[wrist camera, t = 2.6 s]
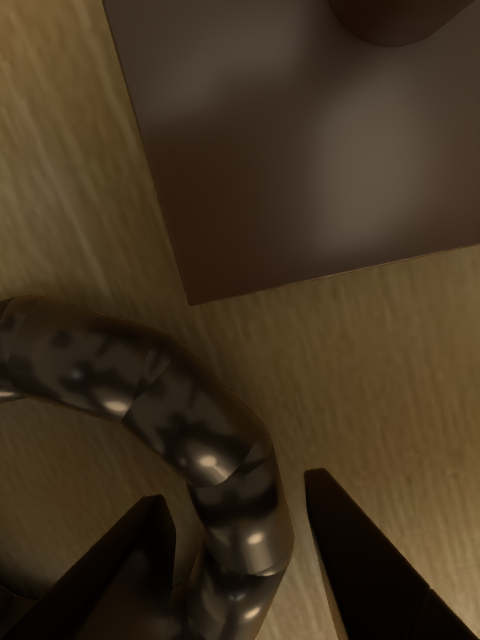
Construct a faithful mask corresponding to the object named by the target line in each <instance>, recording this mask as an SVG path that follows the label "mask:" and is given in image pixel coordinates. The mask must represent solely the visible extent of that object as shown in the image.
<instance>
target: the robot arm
mask: <svg viewBox="0 0 480 640" xmlns="http://www.w3.org/2000/svg"><path fill="white" fill-rule="evenodd" d="M304 484H305V495H306V507H307V514H308V519H309V523H310V528H311V532H312V536H313V540H314V545H315V549H316V553H317V557H318V562H319V566H320V570H321V574H322V579H323V583H324V587H325V591H326V596H327V600H328V604H329V608H330V612H331V615H332V619H333V622H334V626H335V629H336V633H337V637H338V640H480V639H479V638H478V637H477V636H476V635H475V634H474V633H473V632H472V631H471V630H470V629H469V628H468V627H467V626H466V625H465V624H464V623H463V621H462V620H461V619H460V618H459V617H458V616H457V615H456V614H455V613H454V612H453V611H452V610H451V609H450V608H449V607H448V605H447V604H446V603H445V602H444V601H443V600H442V599H441V598H440V596H439V595H438V594H437V593H436V592H435V591H434V590H433V589H430V586H429V584H428V583H427V582H426V581H425V580H424V579H423V578H422V577H421V575H420V574H419V573H418V572H417V571H416V570H415V569H414V568H413V566H412V565H411V564H410V563H409V562H408V561H407V560H406V559H405V557H404V556H403V555H402V554H401V553H400V552H399V551H398V549H397V548H396V547H395V546H394V545H393V544H392V543H391V542H390V540H389V539H388V538H387V537H386V536H385V535H384V534H383V533H382V531H381V530H380V529H379V528H378V527H377V526H376V525H375V524H374V522H373V521H372V520H371V519H370V518H369V517H368V516H367V515H366V513H365V512H364V511H363V510H362V509H361V508H360V507H359V506H358V504H357V503H356V502H355V501H354V500H353V499H352V498H351V497H350V495H349V494H348V493H347V492H346V491H345V490H344V489H343V488H342V486H341V485H340V484H339V483H338V482H337V481H336V480H335V479H334V477H333V476H332V475H331V474H330V473H329V472H328V471H327V470H326V469H325V468H317V469H310V470H306V471H305V472H304ZM175 547H176V529H175V525H174V522H173V519H172V516H171V513H170V511H169V508H168V505H167V502H166V499H165V498H164V496H163V495H161V494H156V495H150V496H144V497H142V498H141V499H140V500H139V501H138V502H137V503H136V504H135V505H134V506H133V507H132V508H131V509H130V510H129V511H128V512H127V513H125V514H124V515H123V516H122V517H121V518H120V519H119V520H118V521H117V522H116V523H115V524H114V525H113V526H112V527H111V528H110V529H109V530H108V531H107V532H106V533H105V534H104V535H103V536H102V537H101V538H100V539H99V540H98V541H97V542H96V543H95V544H94V545H93V546H92V547H91V548H90V549H89V550H88V551H87V552H86V553H85V554H84V555H83V556H82V557H81V558H80V559H79V560H78V561H77V562H76V563H75V564H74V565H73V566H72V567H71V568H70V569H69V570H68V571H67V572H66V573H65V574H64V575H63V576H62V577H61V578H60V579H59V580H58V581H57V582H56V583H55V584H54V585H53V586H52V587H51V588H50V589H49V590H48V591H47V592H46V593H45V594H44V595H43V596H42V597H41V598H40V599H39V600H38V601H37V602H36V603H35V604H34V605H33V606H32V607H31V608H30V609H29V610H28V611H27V612H26V613H25V614H24V615H23V616H22V617H21V618H20V619H19V620H18V621H17V622H16V623H15V624H14V625H13V626H12V627H11V628H10V629H9V630H8V631H7V632H6V633H5V634H4V635H3V636H2V637H1V638H0V640H165V639H166V634H167V628H168V622H169V615H170V606H171V594H172V582H173V570H174V558H175Z"/></svg>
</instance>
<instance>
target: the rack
mask: <svg viewBox="0 0 480 640" xmlns="http://www.w3.org/2000/svg"><path fill="white" fill-rule="evenodd" d="M102 3H103V7H104V10H105V14H106V17H107V21H108V24H109V28H110V31H111V35H112V38H113V42H114V45H115V49H116V52H117V56H118V59H119V63H120V66H121V70H122V73H123V77H124V80H125V84H126V87H127V91H128V94H129V98H130V101H131V105H132V108H133V112H134V115H135V119H136V122H137V126H138V129H139V133H140V136H141V140H142V143H143V147H144V150H145V154H146V157H147V161H148V164H149V168H150V171H151V175H152V178H153V182H154V185H155V189H156V192H157V196H158V199H159V203H160V206H161V210H162V213H163V217H164V220H165V224H166V227H167V231H168V234H169V238H170V241H171V245H172V248H173V252H174V255H175V259H176V262H177V266H178V269H179V273H180V276H181V280H182V283H183V287H184V290H185V294H186V297H187V301H188V304H189V305H190V306H196V305H201V304H206V303H210V302H215V301H220V300H224V299H229V298H233V297H238V296H243V295H247V294H252V293H257V292H261V291H266V290H271V289H275V288H280V287H284V286H289V285H294V284H298V283H303V282H308V281H312V280H317V279H322V278H326V277H331V276H335V275H340V274H345V273H349V272H354V271H359V270H363V269H368V268H373V267H377V266H382V265H386V264H391V263H396V262H400V261H405V260H410V259H414V258H419V257H424V256H428V255H433V254H438V253H442V252H447V251H451V250H456V249H461V248H465V247H470V246H475V245H479V244H480V0H102Z"/></svg>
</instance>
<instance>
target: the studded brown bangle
mask: <svg viewBox="0 0 480 640" xmlns="http://www.w3.org/2000/svg"><path fill="white" fill-rule="evenodd" d="M24 398H30V399H34V400H37V401H41V402H44V403H48V404H51V405H55V406H58V407H62V408H65V409H69V410H72V411H76V412H79V413H83V414H86V415H90V416H93V417H97V418H100V419H104V420H107V421H111V422H114V423H118V424H120V425H121V426H122V427H123V428H124V429H126V430H127V431H128V432H129V433H130V434H131V435H132V436H133V437H135V438H136V439H137V440H138V441H139V442H140V443H141V444H143V445H144V446H145V447H146V448H147V449H148V450H149V451H151V452H152V453H153V454H154V455H155V456H156V457H157V458H158V459H160V460H161V461H162V462H163V463H164V464H165V465H166V466H168V467H169V468H170V469H171V470H172V471H173V472H174V473H175V474H177V475H178V476H179V477H180V478H181V479H182V480H183V481H185V483H186V486H187V489H188V492H189V495H190V498H191V501H192V504H193V507H194V510H195V513H196V516H197V519H198V522H199V525H200V528H201V531H202V534H203V537H204V538H203V541H202V544H201V546H200V549H199V552H198V555H197V558H196V561H195V564H194V567H193V570H192V572H191V575H190V577H189V578H187V579H186V580H184V581H183V582H181V583H180V584H179V585H177V586H176V587H174V588H173V589H172V594H171V606H170V615H169V622H168V628H167V634H166V639H165V640H254V639H255V638H256V636H257V634H258V632H259V630H260V628H261V626H262V623H263V621H264V619H265V616H266V614H267V612H268V610H269V607H270V605H271V603H272V601H273V598H274V596H275V594H276V592H277V589H278V587H279V585H280V582H281V580H282V578H283V576H284V573H285V571H286V569H287V567H288V564H289V562H290V559H291V557H292V554H293V550H294V539H295V536H294V529H293V524H292V520H291V516H290V512H289V508H288V504H287V500H286V496H285V492H284V488H283V484H282V480H281V476H280V472H279V468H278V464H277V460H276V456H275V452H274V448H273V444H272V440H271V437H270V434H269V432H268V430H267V428H266V426H265V425H264V423H263V422H262V420H261V419H260V418H259V417H258V416H257V415H256V414H255V413H254V412H253V411H252V410H251V409H250V408H249V407H248V406H247V405H245V404H244V403H243V402H242V401H241V400H240V399H239V398H238V397H237V396H236V395H235V394H234V393H233V392H232V391H231V390H230V389H229V388H228V387H227V386H226V385H225V384H224V383H223V382H222V381H221V380H220V379H219V378H218V377H216V376H215V375H214V374H213V373H212V372H211V371H210V370H209V369H208V368H207V367H206V366H205V365H204V364H203V363H202V362H201V361H200V360H199V359H198V358H197V357H196V356H195V355H194V354H193V353H192V352H191V351H190V350H189V349H188V348H186V347H185V346H184V345H183V344H182V343H181V342H180V341H179V340H178V339H176V338H175V337H174V336H172V335H170V334H168V333H166V332H163V331H161V330H157V329H154V328H150V327H147V326H144V325H140V324H137V323H134V322H130V321H127V320H123V319H120V318H117V317H113V316H110V315H106V314H103V313H100V312H96V311H93V310H90V309H86V308H83V307H79V306H76V305H73V304H69V303H66V302H63V301H59V300H56V299H52V298H49V297H45V296H33V295H29V296H21V297H16V298H12V299H7V300H3V301H0V403H4V402H9V401H14V400H19V399H24ZM36 602H37V601H36V600H32V599H28V598H24V597H20V596H17V595H14V594H12V593H11V592H10V591H8V590H7V589H6V588H4V587H3V586H1V585H0V638H1V637H2V636H3V635H4V634H5V633H6V632H7V631H8V630H9V629H10V628H11V627H12V626H13V625H14V624H15V623H16V622H17V621H18V620H19V619H20V618H21V617H22V616H23V615H24V614H25V613H26V612H27V611H28V610H29V609H30V608H31V607H32V606H33V605H34V604H35V603H36Z"/></svg>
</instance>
